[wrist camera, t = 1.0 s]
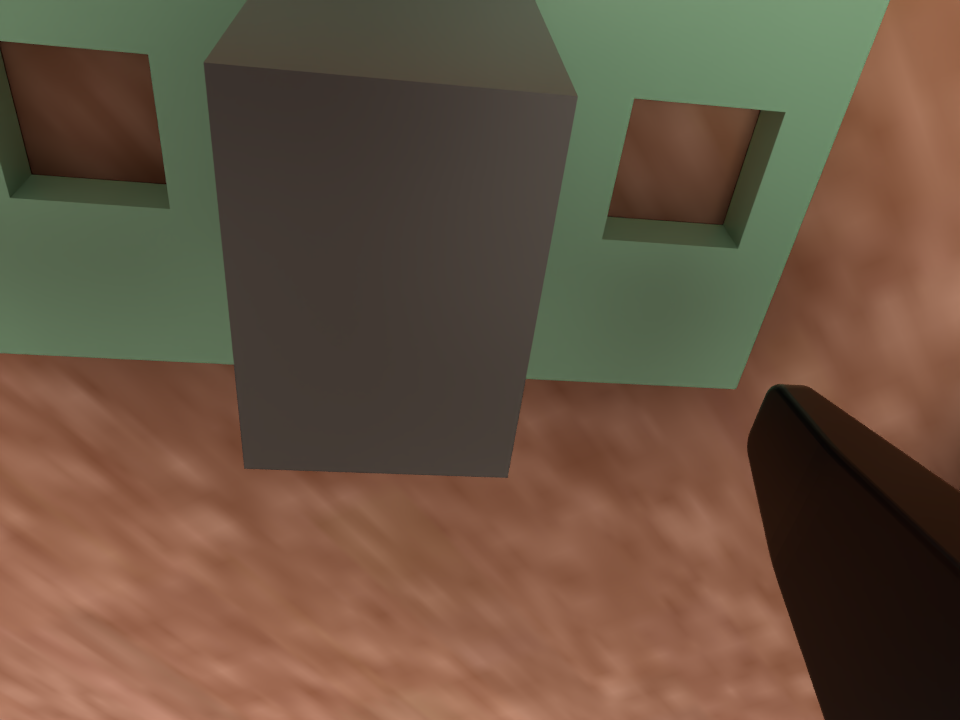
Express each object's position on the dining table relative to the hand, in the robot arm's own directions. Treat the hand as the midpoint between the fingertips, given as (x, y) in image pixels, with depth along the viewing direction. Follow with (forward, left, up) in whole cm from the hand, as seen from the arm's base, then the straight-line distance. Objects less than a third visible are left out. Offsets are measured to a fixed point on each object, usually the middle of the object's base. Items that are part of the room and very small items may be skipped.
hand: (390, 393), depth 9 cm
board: (0, 0, -8) cm, 8 cm away
